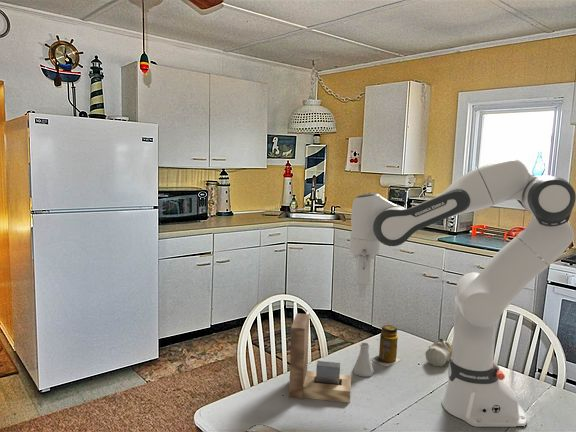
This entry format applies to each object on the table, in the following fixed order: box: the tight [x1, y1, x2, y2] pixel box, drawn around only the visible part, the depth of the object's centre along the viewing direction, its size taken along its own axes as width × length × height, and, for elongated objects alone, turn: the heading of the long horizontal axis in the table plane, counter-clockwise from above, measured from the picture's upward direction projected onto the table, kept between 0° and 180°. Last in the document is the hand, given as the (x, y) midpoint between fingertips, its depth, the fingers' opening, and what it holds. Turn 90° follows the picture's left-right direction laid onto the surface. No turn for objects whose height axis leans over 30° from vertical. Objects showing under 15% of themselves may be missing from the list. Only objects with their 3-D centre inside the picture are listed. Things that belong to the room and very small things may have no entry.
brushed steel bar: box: [315, 360, 341, 385], centre depth 141 cm, size 7×3×9 cm, turn 81°
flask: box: [352, 341, 375, 378], centre depth 154 cm, size 7×7×10 cm
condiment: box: [370, 324, 401, 367], centre depth 163 cm, size 7×8×12 cm
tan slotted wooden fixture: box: [288, 312, 352, 404], centre depth 140 cm, size 18×12×22 cm, turn 81°
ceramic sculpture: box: [425, 338, 452, 367], centre depth 164 cm, size 11×9×15 cm
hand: (361, 291), depth 141 cm, fingers open, 8 cm apart
